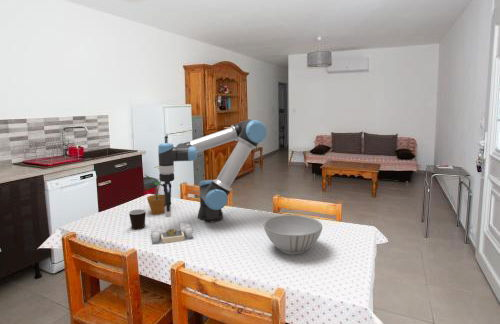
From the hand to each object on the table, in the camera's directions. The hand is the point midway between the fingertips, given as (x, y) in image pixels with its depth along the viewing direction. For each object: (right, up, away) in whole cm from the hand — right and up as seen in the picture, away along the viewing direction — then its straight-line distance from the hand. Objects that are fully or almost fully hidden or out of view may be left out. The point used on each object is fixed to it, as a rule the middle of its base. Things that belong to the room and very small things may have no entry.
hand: (168, 216), depth 181 cm
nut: (+3, -8, -6) cm, 11 cm away
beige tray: (+4, -10, -9) cm, 14 cm away
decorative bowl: (+63, -12, -22) cm, 68 cm away
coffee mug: (-17, -8, +6) cm, 20 cm away
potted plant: (-15, -3, +33) cm, 36 cm away
